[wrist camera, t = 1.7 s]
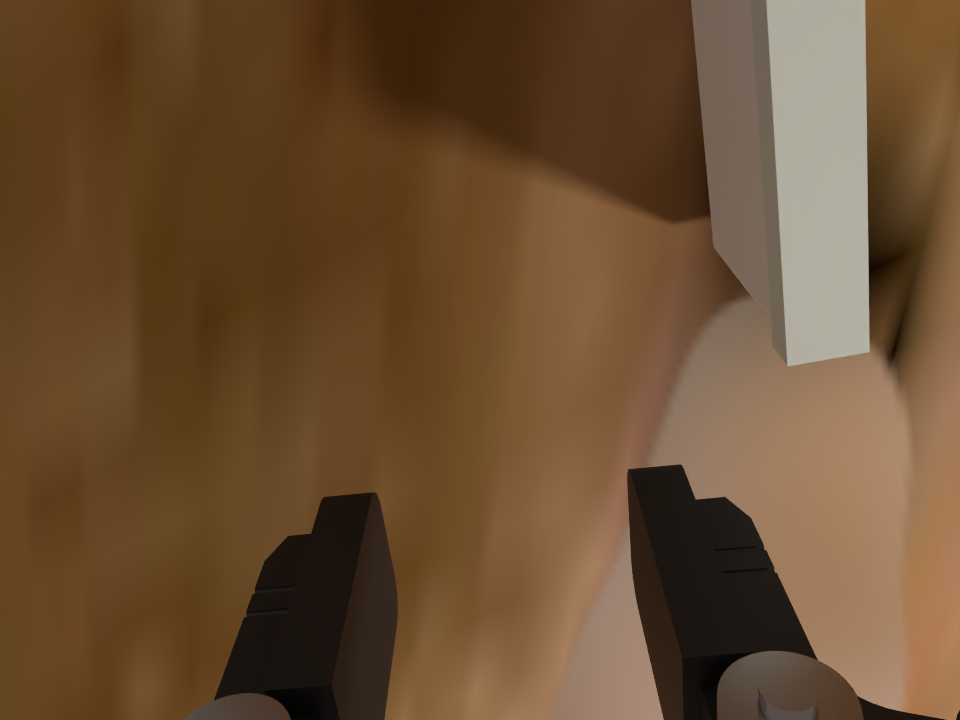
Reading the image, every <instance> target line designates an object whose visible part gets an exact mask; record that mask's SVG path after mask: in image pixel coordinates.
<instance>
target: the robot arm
mask: <svg viewBox="0 0 960 720" xmlns="http://www.w3.org/2000/svg"><path fill="white" fill-rule="evenodd" d="M627 483H628V504H629V524H630V544H631V562H632V573H633V581H634V588H635V594H636V600H637V605H638V610H639V614H640V618H641V623H642V627H643V631H644V636H645V640H646V644H647V649H648V653H649V657H650V662H651V665H652V670H653V675H654V679H655V683H656V688H657V692H658V696H659V701H660V705H661V709H662V714H663V718H664V720H945V719H939V718H934V717H928V716H922V715H917V714H911V713H906V712H901V711H896V710H892V709H888V708H884V707H882V706H879V705H876V704H873V703H871V702H868V701H866V700H864V699H862V698H860V697H858V696H857V695H856V693H855V691H854V689H853V688H852V687H851V686H850V684H849V683H848V682H847V681H846V680H845V679H844V678H843V677H842V676H841V675H840V674H839V673H837V672H836V671H835V670H833V669H832V668H830V667H829V666H827V665H826V664H823V663H822V662H820V661H818V659H817V658H816V656H815V654H814V652H813V649H812V647H811V645H810V643H809V641H808V639H807V637H806V635H805V632H804V630H803V628H802V626H801V624H800V622H799V619H798V618H797V615H796V613H795V611H794V609H793V607H792V605H791V602H790V600H789V598H788V596H787V594H786V592H785V589H784V587H783V585H782V583H781V581H780V579H779V577H778V574H777V573H775V571H774V566H773V564H772V562H771V560H770V557H769V555H768V553H767V551H766V550H764V545H763V542H762V540H761V538H760V536H759V534H758V532H757V530H756V527H755V525H754V523H753V521H752V519H751V518H750V517H749V516H748V515H746V514H745V513H744V512H743V511H742V510H740V509H739V508H738V507H736V506H735V505H734V504H733V503H732V502H730V501H729V500H728V499H727V498H726V497H720V498H709V499H698V500H695V497H694V494H693V492H692V489H691V486H690V484H689V481H688V479H687V476H686V474H685V471H684V468H683V467H682V465H669V466H659V467H648V468H637V469H628V475H627ZM246 612H247V617H244V619H243V622H242V625H241V628H240V630H239V633H238V636H237V638H236V641H235V644H234V647H233V649H232V652H231V655H230V658H229V660H228V663H227V666H226V669H225V671H224V674H223V677H222V680H221V682H220V685H219V688H218V690H217V693H216V696H215V699H214V701H212V702H210V703H208V704H206V705H204V706H202V707H201V708H199V709H197V710H196V711H194V712H193V713H192V714H190V715H189V716H188V717H186V718H185V719H184V720H384V718H385V710H386V703H387V696H388V688H389V681H390V673H391V666H392V658H393V651H394V643H395V636H396V628H397V618H398V602H397V588H396V581H395V575H394V570H393V565H392V560H391V555H390V550H389V545H388V539H387V534H386V529H385V524H384V519H383V514H382V509H381V505H380V501H379V498H378V495H377V494H376V493H375V492H373V493H362V494H351V495H340V496H330V497H324V498H323V499H322V501H321V503H320V506H319V510H318V513H317V516H316V520H315V523H314V526H313V530H312V533H311V534H305V535H293V536H288V537H287V538H286V539H285V540H284V541H283V542H282V543H281V544H280V545H279V546H278V547H277V549H276V550H275V551H274V552H273V553H272V554H271V555H270V556H269V557H268V558H267V559H266V560H265V562H264V565H263V567H262V570H261V573H260V576H259V578H258V581H257V584H256V587H255V594H253V595H252V597H251V600H250V603H249V606H248V608H247V611H246ZM956 720H960V711H959V713H958V714H957V719H956Z"/></svg>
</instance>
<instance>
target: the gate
mask: <svg viewBox="0 0 960 720" xmlns="http://www.w3.org/2000/svg"><path fill="white" fill-rule="evenodd" d="M691 7H692V17H693V28H694V39H695V50H696V61H697V72H698V83H699V93H700V104H701V115H702V126H703V137H704V148H705V159H706V169H707V180H708V191H709V202H710V213H711V224H712V234H713V245H714V248H715V249H716V251H717V252H718V253H719V255H720V256H721V257H722V259H723V260H724V261H725V262H726V264H727V265H728V266H729V268H730V269H731V270H732V272H733V273H734V274H735V275H736V277H737V278H738V279H739V281H740V282H741V283H742V285H743V286H744V287H745V288H746V290H747V291H748V292H749V294H750V295H751V296H752V298H753V299H754V300H755V301H756V303H757V304H758V305H759V307H760V308H761V309H762V311H763V312H764V313H765V314H766V316H767V317H768V318H769V320H770V321H771V322H772V337H773V347H774V348H775V350H776V351H777V353H778V354H779V355H780V357H781V358H782V359H783V361H784V362H785V363H786V365H787V366H792V365H797V364H803V363H810V362H815V361H821V360H827V359H832V358H838V357H843V356H850V355H855V354H861V353H867V352H869V274H868V193H867V112H866V31H865V0H691Z"/></svg>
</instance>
